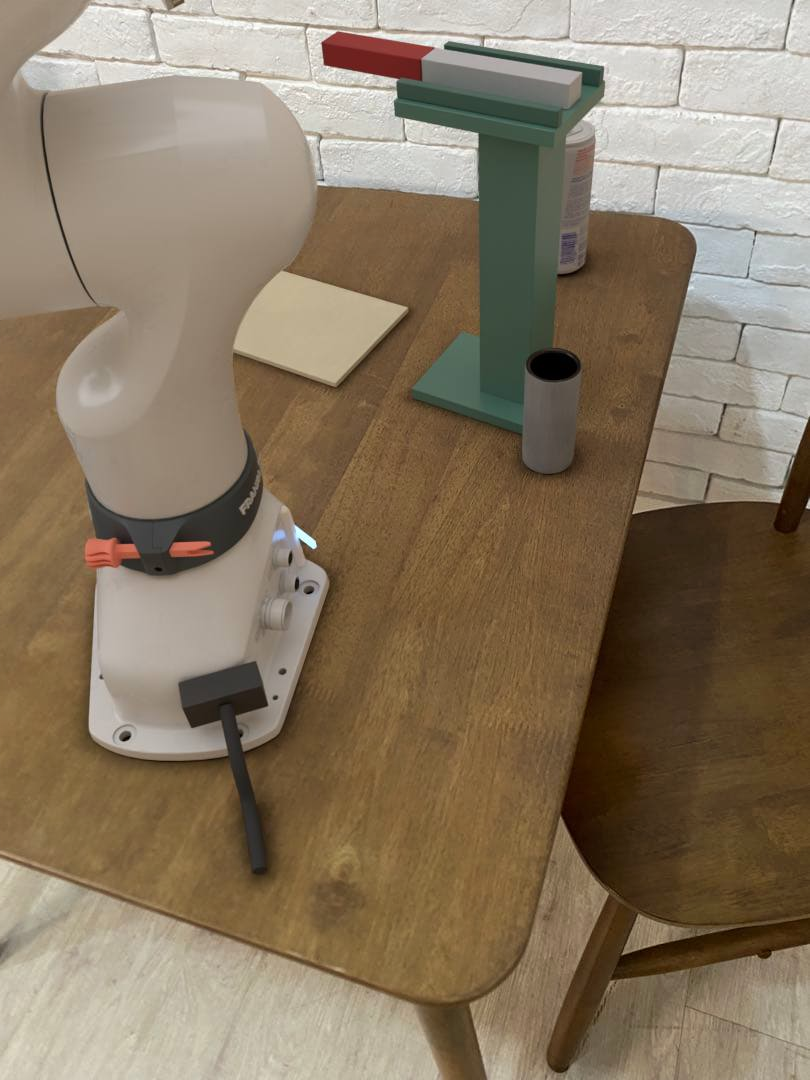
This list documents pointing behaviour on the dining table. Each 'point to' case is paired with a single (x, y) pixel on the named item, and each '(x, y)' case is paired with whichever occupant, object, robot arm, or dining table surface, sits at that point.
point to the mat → (314, 327)
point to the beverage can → (576, 196)
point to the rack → (504, 232)
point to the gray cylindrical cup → (550, 409)
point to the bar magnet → (452, 69)
